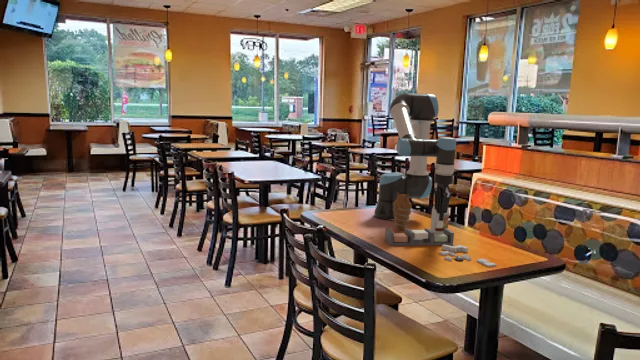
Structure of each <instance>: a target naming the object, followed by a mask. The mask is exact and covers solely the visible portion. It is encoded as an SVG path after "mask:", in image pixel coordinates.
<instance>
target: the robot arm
mask: <svg viewBox="0 0 640 360" xmlns="http://www.w3.org/2000/svg"><path fill="white" fill-rule="evenodd" d="M439 111H440V110H439V101H438V97H437V96H436V95H435V94H432V93H431V94H429V93H416V92H415V93H413V92H412V93H411V92H410V93H409V92H403V93H401V94H399V95H397V96H396V97H395V98H394V99H392V101H391V103H390V106H389V114H390V117H391V119H393V120H394V124H395V127H396V131H397V134H398V140H397V142H396V153H397V154H398V156H405V157H409V158H410V159H409V169H407V171H406V172H405V173H406V174H405V175H404V174H403V173H402V172H396V171H395V172H386V173H383V174H381V175H380V176H379V183H378V184H379V187H378V201H377V204H376V207H375V209H374V212H373V213H374V214H373V215H374V217H375V218H376V219H377V218H378V219H380V220H385V221H386V220H387V221H395V217H394V211H393V207H394V206H393V202H394V201H395V200H396V199H397V197H398V195H397V193H400V194H405V195H406V194H408V193H409V196H408V198H409V199H417V200H418V199H419V200H420V199H427V198H428V197H429V196H430V194H431V192H432V189H433V191H434V204H435V210H436V212H437V216H436V228H443V220H444V214H445V213H447V210H448V208H449V205H450V201H451V200H450V199H451V197H452V192H450V185H451V184H453V180H454V175H453V174H454V172H455V171H454V169H455V158H456V150H457V140H456V138H454V137H450V136H449V137H447V136H445V137H444V136H439V137H438V138H437V139H436V138H434V139H430V131H431V124H432V123H433V122H434V121H435V118H437V117H438V116H439ZM428 157H429V158H431V157H432V158H435V166H434V168H435V170H434V172H435V174H434V181H433V178H432V177H431V176H430V173H429V172H428V171H427V167H428V166H427V165H428ZM433 182H434V183H435V184H436V186H434V188H432V186H433Z"/></svg>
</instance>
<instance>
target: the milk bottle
mask: <svg viewBox="0 0 640 360" xmlns="http://www.w3.org/2000/svg"><path fill="white" fill-rule="evenodd" d="M449 215H450V210H449V207H448V210H447V213H445V214H444V220H443V228H436V216H437V212H436V210H435V203H434V204H433V206H432V209H431V216H430V217H431V219H430V226H429V227H430V228H429V230H431V231H432V232H434V233H443V230H444V228H447V229H449V217H450V216H449Z"/></svg>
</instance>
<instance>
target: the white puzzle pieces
mask: <svg viewBox="0 0 640 360" xmlns="http://www.w3.org/2000/svg"><path fill="white" fill-rule="evenodd" d="M441 247H442V248H441V249H442V250H443V251H442V250H440V251H439V252H438V253H439V255H441V256H443V258H444V260H445V261H449V262H452V261H453V260H454V261H455V262H464V260H465V261H466V260H467V261H472V258H471V256H470V255H468V254H466V253H468V252H469V247H467V246H464V245H461V244H457V245H455V246H454V245H441ZM457 252H458V253H459V252H462V253H465V254H462V255H456V254H455V253H457ZM453 257H454V258H453ZM476 262H477V263H479V264H481V265H483V266H484V267H486V266H487V268H493V267H494V268H495V267H497V263H494V262H490V260H489V259H487V258H477V259H476Z"/></svg>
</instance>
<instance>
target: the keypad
mask: <svg viewBox="0 0 640 360" xmlns="http://www.w3.org/2000/svg"><path fill="white" fill-rule="evenodd" d="M384 229H385V231H384V241H385V243H387V244H388V245H389V247H396V246H398V247H402V246H406V247H408V246H410V247H411V246H413V247H415V246H420V247H421V246H422V245H427V247H428V246H442V245H449V246H454V239H455V232H454V231H452V230H450V228H448V229H447V228H444V230H443V233H444V234H445V235H447V236H448V240H447V242H434V232H432V231H431V230H430V228H428V227H424V230H425V231H426V232H427V233H428V239H414V233H413V232H412V231H411V230H412V229H410V228H408V227H406V228H405V229H404V234H406V235H407V236H408V241H407V242H393V238H394V233H395V232H393V231H392V230H391V229H390V228H388V227H385V228H384Z"/></svg>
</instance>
